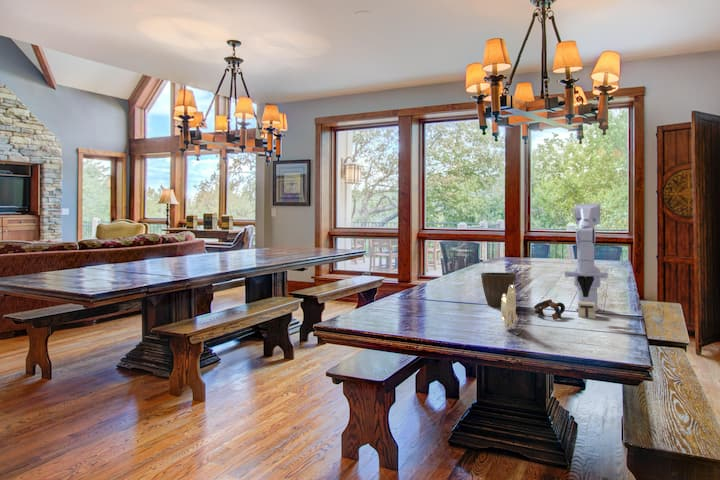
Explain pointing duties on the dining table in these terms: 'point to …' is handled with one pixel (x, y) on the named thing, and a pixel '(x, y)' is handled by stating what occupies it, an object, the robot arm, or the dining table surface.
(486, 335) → the dining table surface
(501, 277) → the plant pot
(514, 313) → the unicorn
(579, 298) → the robot arm
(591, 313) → the letter cube
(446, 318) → the dining table surface
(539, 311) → the brown curved wooden piece
